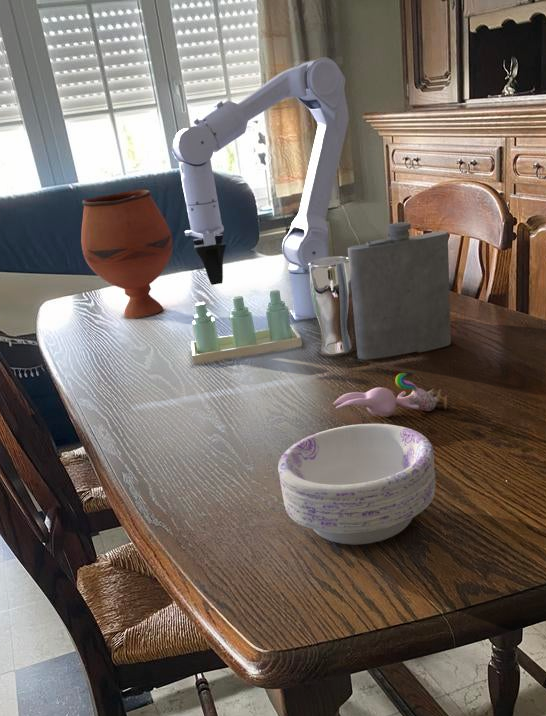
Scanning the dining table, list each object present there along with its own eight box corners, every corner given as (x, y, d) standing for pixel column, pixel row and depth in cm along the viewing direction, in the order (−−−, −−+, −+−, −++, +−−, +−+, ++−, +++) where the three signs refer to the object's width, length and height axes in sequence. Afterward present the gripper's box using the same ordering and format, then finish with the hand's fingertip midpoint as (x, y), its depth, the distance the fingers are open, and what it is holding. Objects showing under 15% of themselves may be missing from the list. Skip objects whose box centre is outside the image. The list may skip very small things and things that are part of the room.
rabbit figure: (433, 407, 104) (328, 410, 101) (438, 365, 101) (331, 367, 98) (449, 423, 98) (339, 426, 96) (455, 379, 96) (342, 381, 93)
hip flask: (446, 339, 125) (442, 213, 115) (455, 346, 122) (452, 216, 112) (355, 357, 123) (343, 230, 113) (362, 364, 119) (351, 233, 110)
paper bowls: (285, 497, 83) (275, 431, 79) (420, 478, 83) (417, 412, 79) (290, 572, 70) (278, 498, 66) (452, 551, 70) (449, 475, 66)
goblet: (83, 326, 165) (51, 206, 153) (131, 302, 180) (105, 191, 168) (156, 325, 158) (128, 199, 146) (200, 300, 173) (178, 184, 161)
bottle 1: (255, 342, 136) (248, 293, 132) (258, 349, 132) (250, 298, 128) (234, 346, 136) (225, 296, 131) (235, 352, 132) (227, 301, 128)
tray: (295, 334, 139) (293, 324, 138) (302, 348, 131) (301, 337, 130) (192, 351, 138) (190, 341, 137) (194, 366, 129) (191, 355, 129)
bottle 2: (290, 337, 136) (284, 287, 132) (294, 343, 133) (287, 292, 129) (269, 340, 136) (261, 290, 132) (271, 346, 133) (264, 295, 128)
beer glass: (330, 361, 123) (320, 267, 115) (311, 352, 128) (300, 262, 121) (366, 351, 125) (359, 258, 118) (345, 342, 131) (337, 254, 123)
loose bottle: (220, 349, 135) (211, 299, 131) (221, 355, 132) (212, 304, 128) (198, 352, 135) (188, 302, 131) (199, 359, 132) (189, 308, 127)
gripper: (179, 201, 140) (193, 275, 146) (180, 210, 127) (195, 291, 134) (216, 196, 140) (229, 270, 147) (221, 204, 128) (234, 284, 134)
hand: (215, 279), depth 140 cm, fingers open, 7 cm apart
